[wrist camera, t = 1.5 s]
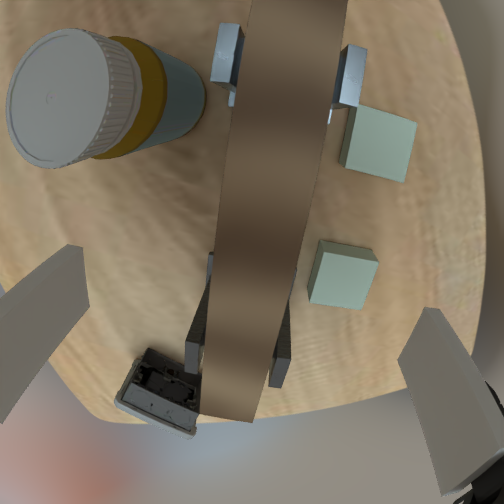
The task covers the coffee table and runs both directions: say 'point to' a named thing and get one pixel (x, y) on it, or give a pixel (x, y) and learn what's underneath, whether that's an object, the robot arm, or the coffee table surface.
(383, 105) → the coffee table surface
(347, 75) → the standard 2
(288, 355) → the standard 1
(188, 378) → the electrical switch
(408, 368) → the robot arm
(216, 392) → the rail
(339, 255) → the blocks
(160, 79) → the bottle
